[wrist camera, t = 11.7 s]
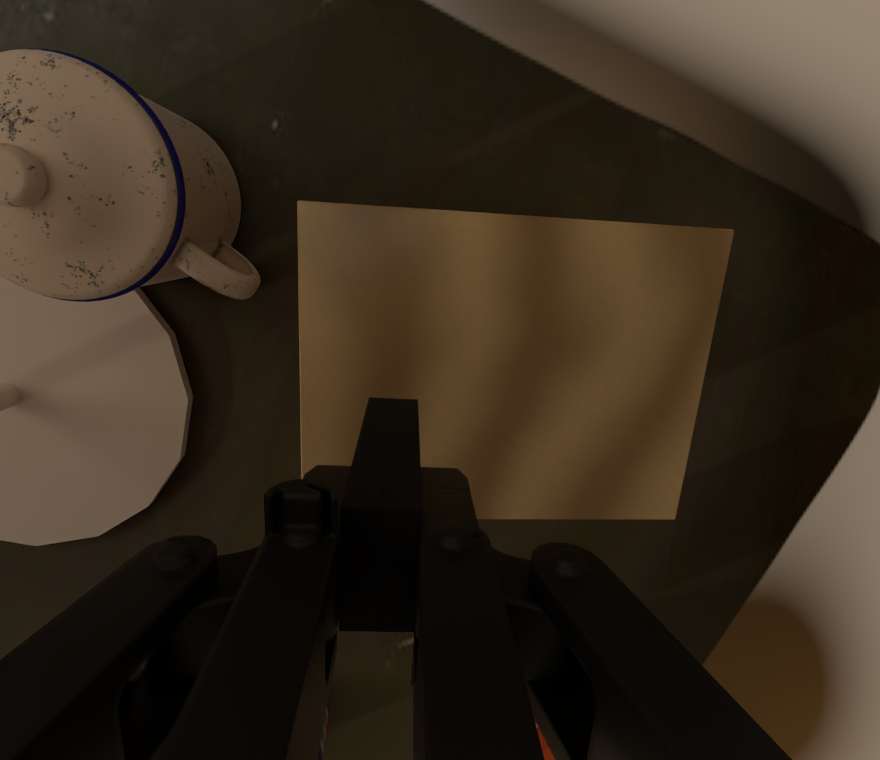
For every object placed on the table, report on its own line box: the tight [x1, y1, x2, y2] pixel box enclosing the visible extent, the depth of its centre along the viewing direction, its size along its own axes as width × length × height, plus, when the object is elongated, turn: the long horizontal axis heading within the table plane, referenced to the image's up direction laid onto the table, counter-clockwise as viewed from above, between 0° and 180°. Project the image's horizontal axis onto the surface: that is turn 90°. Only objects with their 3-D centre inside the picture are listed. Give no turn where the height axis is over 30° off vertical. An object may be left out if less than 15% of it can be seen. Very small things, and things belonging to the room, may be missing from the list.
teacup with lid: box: [0, 49, 260, 302], centre depth 23 cm, size 12×9×12 cm
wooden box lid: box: [297, 200, 734, 519], centre depth 21 cm, size 16×13×1 cm
